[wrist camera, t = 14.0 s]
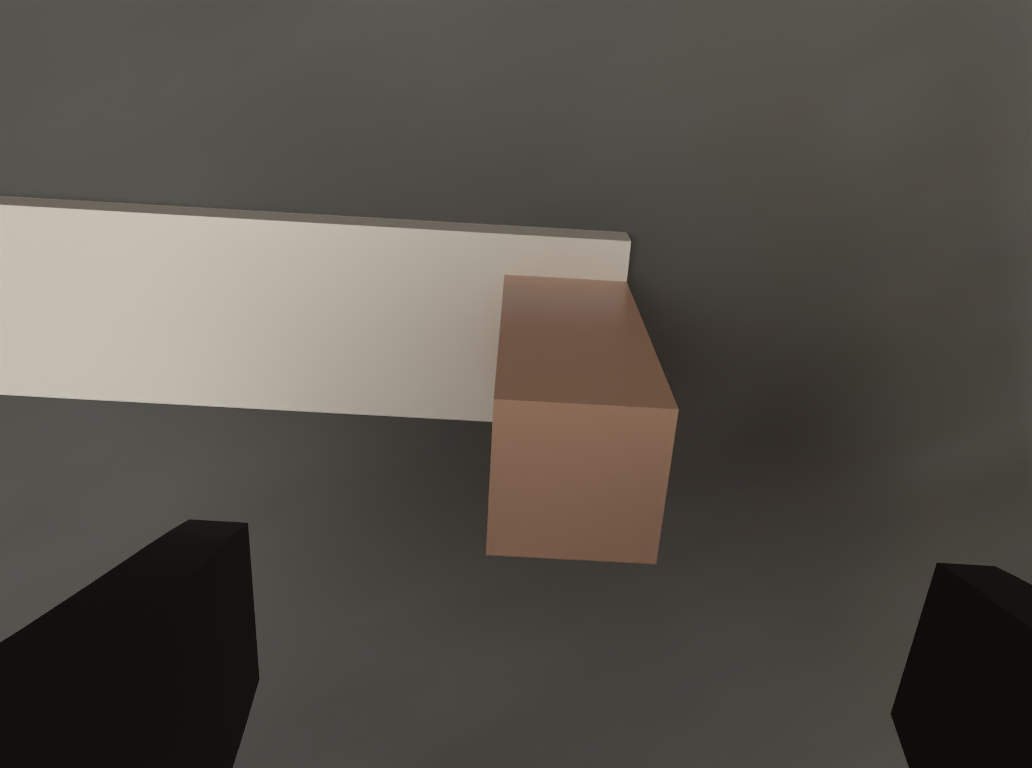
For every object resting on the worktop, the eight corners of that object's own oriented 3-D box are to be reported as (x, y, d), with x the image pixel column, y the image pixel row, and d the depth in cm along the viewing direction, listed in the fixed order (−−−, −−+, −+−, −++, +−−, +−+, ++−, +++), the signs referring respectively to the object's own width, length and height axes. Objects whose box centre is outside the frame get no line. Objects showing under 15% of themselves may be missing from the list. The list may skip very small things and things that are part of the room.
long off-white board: (625, 230, 17) (686, 352, 10) (606, 408, 18) (649, 610, 12) (-229, 180, 17) (-704, 272, 10) (-176, 365, 18) (-559, 546, 12)
